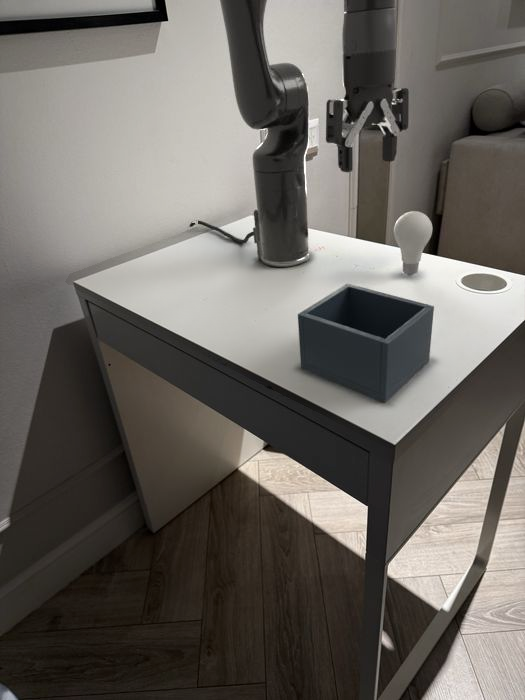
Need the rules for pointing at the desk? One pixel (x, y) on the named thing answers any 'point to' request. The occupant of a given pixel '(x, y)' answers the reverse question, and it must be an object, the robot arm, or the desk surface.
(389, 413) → the desk surface
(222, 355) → the desk surface
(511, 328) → the desk surface
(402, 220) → the lightbulb
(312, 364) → the bin
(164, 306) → the desk surface
